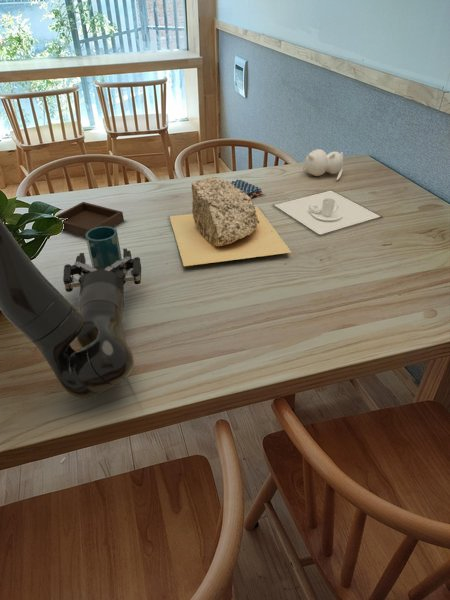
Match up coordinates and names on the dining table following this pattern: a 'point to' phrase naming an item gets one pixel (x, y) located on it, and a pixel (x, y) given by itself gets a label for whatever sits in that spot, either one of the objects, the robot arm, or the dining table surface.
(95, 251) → the cup
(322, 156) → the cat figurine
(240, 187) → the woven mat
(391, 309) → the dining table surface
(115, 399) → the dining table surface
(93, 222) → the tray
